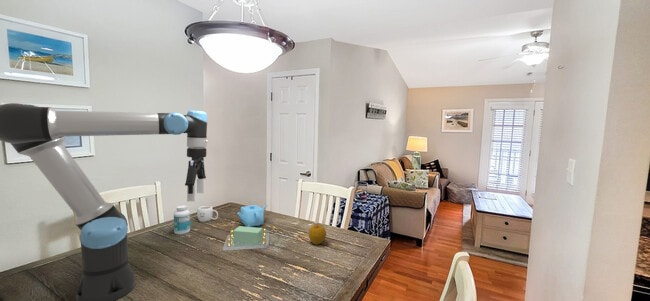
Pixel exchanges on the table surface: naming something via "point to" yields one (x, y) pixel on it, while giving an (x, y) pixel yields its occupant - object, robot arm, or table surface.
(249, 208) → the teapot
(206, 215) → the mug
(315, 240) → the apple
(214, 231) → the table surface
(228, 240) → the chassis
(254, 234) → the pale green block
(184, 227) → the pill bottle
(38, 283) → the table surface
